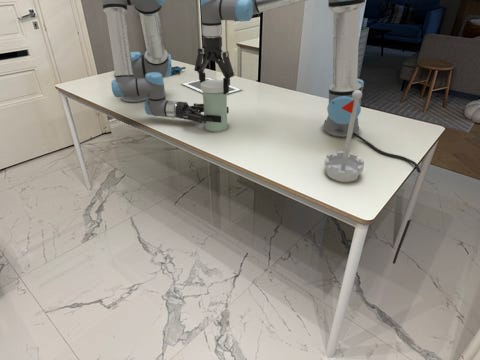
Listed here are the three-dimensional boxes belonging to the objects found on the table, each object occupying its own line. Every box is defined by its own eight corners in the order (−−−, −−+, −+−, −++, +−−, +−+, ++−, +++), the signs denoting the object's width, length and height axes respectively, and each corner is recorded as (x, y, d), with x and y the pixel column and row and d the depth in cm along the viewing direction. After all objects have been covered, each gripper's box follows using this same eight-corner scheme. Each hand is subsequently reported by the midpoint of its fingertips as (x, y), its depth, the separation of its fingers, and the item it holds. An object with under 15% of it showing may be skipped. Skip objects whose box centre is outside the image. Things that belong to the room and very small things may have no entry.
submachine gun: (171, 61, 241) (190, 66, 224) (171, 66, 243) (190, 72, 226) (125, 69, 222) (142, 76, 205) (126, 75, 224) (143, 82, 207)
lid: (201, 85, 149) (201, 79, 147) (228, 84, 149) (227, 79, 148) (200, 93, 139) (199, 88, 138) (228, 93, 139) (228, 87, 138)
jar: (224, 121, 159) (223, 80, 148) (229, 130, 151) (228, 87, 140) (203, 123, 157) (200, 82, 146) (207, 132, 148) (204, 89, 138)
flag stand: (346, 161, 127) (361, 81, 110) (369, 179, 117) (390, 94, 100) (316, 168, 123) (327, 86, 106) (337, 186, 113) (353, 99, 96)
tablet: (181, 84, 205) (181, 83, 205) (208, 77, 216) (208, 77, 216) (213, 98, 185) (213, 97, 185) (241, 90, 196) (241, 89, 196)
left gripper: (188, 108, 165) (232, 113, 161) (168, 127, 147) (216, 133, 142) (187, 93, 161) (231, 97, 156) (166, 111, 143) (216, 116, 138)
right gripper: (242, 37, 130) (242, 93, 142) (194, 31, 141) (198, 83, 153) (231, 41, 125) (232, 98, 136) (182, 34, 135) (187, 88, 147)
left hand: (224, 114), depth 149 cm, fingers closed on jar, 10 cm apart
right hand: (214, 90), depth 145 cm, fingers closed on lid, 11 cm apart
